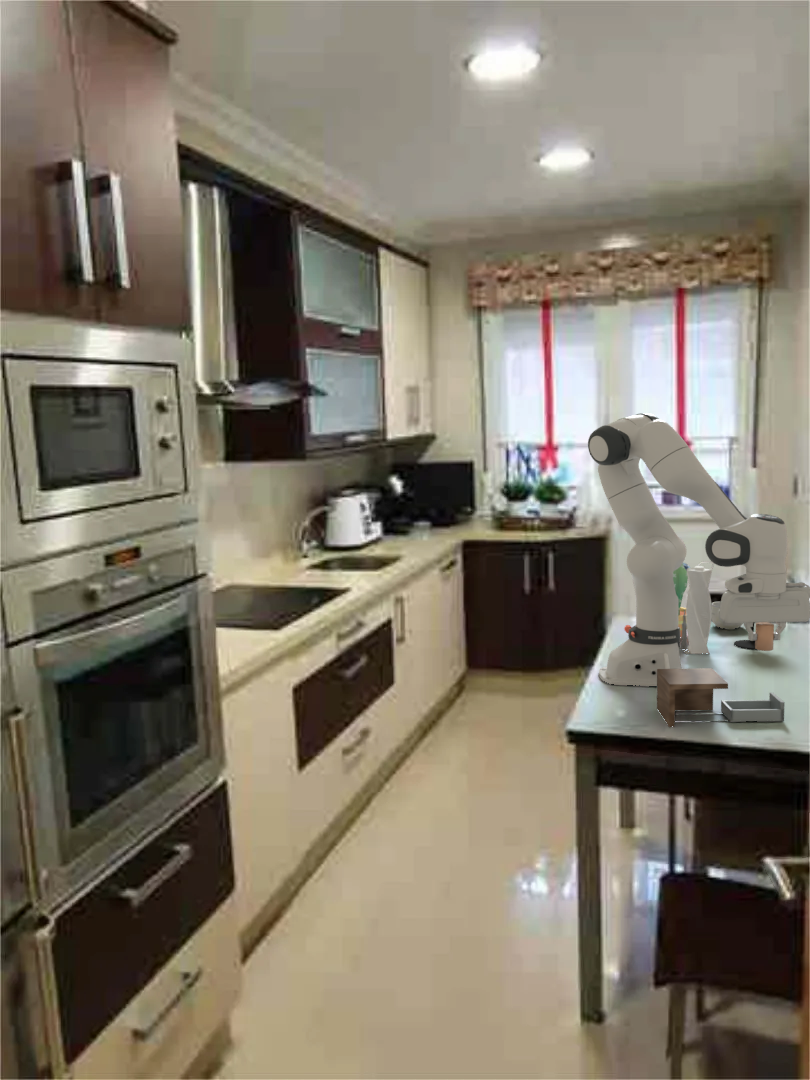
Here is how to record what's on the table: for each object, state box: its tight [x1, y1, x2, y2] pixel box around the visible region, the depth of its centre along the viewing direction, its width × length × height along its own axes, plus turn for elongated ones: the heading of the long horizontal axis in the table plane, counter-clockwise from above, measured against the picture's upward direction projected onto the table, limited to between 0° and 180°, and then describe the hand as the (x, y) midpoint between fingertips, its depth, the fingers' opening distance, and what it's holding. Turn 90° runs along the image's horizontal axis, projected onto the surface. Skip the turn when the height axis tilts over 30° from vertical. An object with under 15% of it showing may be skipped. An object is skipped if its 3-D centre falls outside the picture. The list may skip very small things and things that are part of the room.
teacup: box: [711, 600, 744, 630], centre depth 275 cm, size 14×11×8 cm
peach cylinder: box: [754, 622, 775, 652], centre depth 196 cm, size 4×4×6 cm
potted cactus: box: [673, 562, 691, 637], centre depth 267 cm, size 15×15×25 cm
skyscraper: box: [680, 560, 715, 655], centre depth 247 cm, size 8×8×28 cm
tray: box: [720, 692, 785, 723], centre depth 193 cm, size 12×7×4 cm, turn 86°
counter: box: [656, 667, 766, 728], centre depth 193 cm, size 26×12×10 cm, turn 86°
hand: (764, 640), depth 196 cm, fingers closed on peach cylinder, 4 cm apart
